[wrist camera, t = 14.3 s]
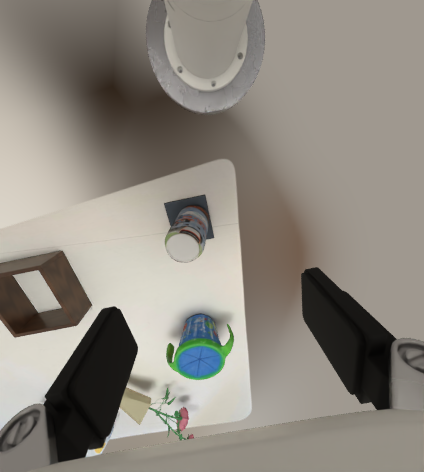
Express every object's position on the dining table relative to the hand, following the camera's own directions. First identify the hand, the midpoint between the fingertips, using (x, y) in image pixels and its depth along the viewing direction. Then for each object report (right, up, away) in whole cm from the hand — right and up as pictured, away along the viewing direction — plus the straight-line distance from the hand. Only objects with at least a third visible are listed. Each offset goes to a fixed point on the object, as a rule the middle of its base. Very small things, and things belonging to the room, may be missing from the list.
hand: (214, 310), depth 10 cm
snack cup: (-3, -18, +40) cm, 44 cm away
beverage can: (-4, +7, +30) cm, 31 cm away
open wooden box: (-36, -7, +34) cm, 50 cm away
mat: (-4, +7, +30) cm, 31 cm away
